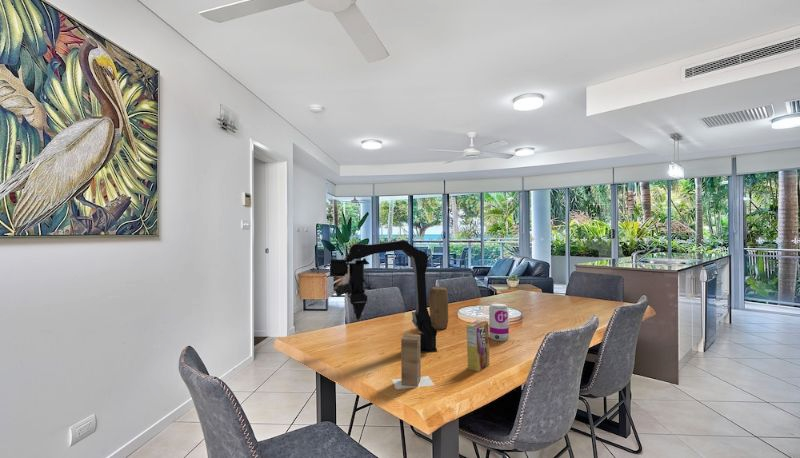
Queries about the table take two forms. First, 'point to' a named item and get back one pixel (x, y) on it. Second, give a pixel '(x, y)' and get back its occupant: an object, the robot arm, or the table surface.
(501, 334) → the supplement can
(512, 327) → the table surface
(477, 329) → the candy box
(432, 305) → the block
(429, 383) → the tile
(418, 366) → the walnut block
